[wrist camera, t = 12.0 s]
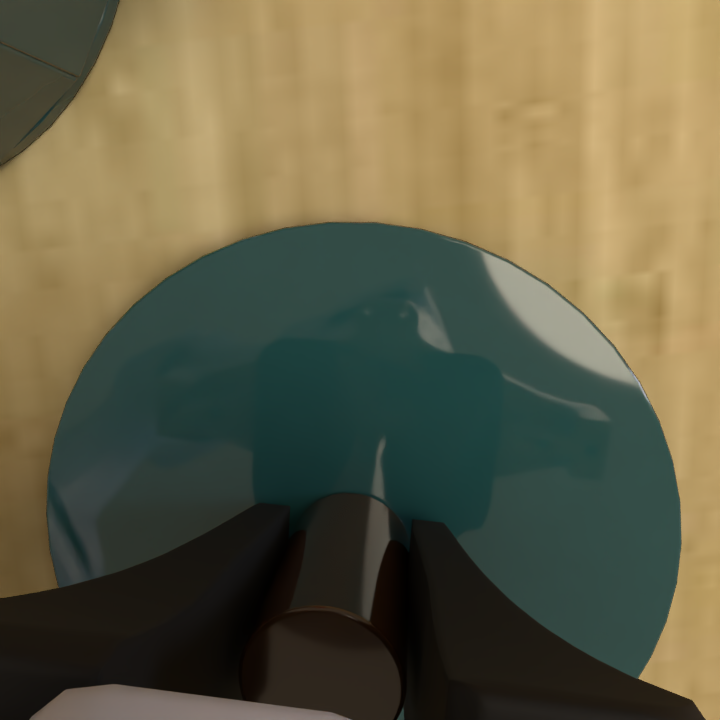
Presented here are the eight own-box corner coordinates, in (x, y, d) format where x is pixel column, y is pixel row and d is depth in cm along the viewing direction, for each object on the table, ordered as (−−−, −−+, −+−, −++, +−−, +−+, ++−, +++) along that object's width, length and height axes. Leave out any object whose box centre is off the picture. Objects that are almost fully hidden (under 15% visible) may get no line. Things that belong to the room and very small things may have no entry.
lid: (610, 809, 15) (708, 1102, 10) (77, 736, 16) (-81, 970, 11) (714, 247, 12) (919, 260, 7) (67, 200, 13) (-150, 180, 8)
